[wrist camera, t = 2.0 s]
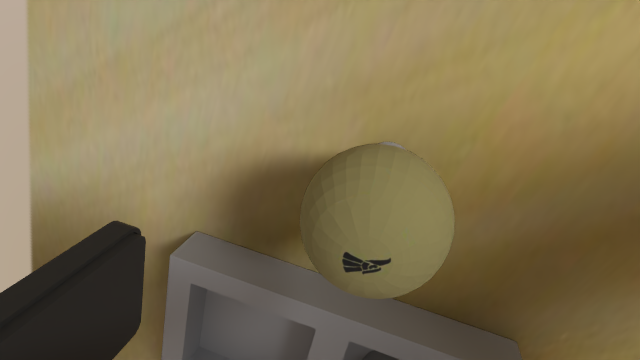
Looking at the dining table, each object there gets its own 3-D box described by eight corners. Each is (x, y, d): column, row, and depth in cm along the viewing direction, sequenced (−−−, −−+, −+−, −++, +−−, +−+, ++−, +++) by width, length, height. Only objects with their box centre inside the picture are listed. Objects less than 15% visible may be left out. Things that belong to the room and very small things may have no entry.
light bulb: (366, 221, 22) (331, 353, 13) (319, 138, 21) (245, 219, 12) (459, 183, 20) (495, 308, 11) (413, 89, 19) (410, 142, 10)
